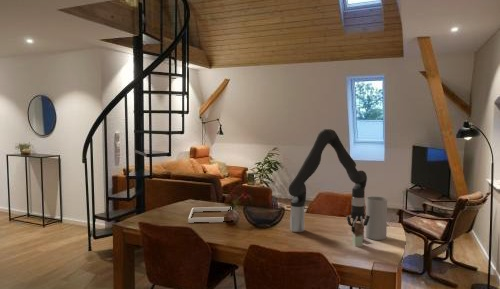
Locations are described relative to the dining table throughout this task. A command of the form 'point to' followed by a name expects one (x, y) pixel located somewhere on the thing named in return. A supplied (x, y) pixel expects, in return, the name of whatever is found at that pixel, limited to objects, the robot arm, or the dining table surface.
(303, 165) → the robot arm
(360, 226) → the walnut block
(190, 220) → the white square frame
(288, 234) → the dining table surface
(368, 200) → the cylinder vase
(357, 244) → the sage block
